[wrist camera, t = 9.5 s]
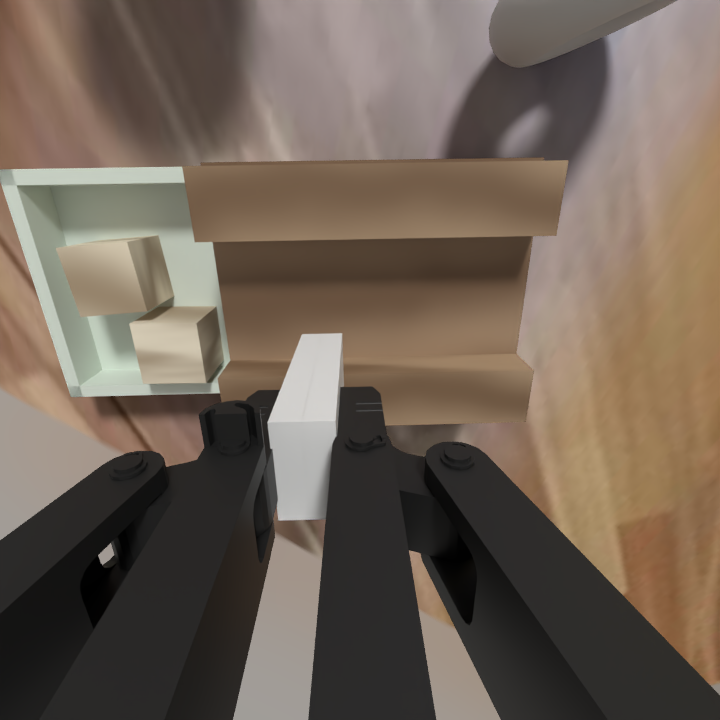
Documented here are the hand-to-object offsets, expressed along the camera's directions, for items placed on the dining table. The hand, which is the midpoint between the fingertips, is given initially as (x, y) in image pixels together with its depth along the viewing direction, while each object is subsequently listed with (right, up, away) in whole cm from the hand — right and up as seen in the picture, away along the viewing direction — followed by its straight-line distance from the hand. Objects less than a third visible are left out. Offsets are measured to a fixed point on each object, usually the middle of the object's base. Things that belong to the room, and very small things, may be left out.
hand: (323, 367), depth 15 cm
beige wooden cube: (-11, +3, +11) cm, 15 cm away
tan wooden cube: (-13, +5, +8) cm, 16 cm away
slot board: (+2, +6, +13) cm, 14 cm away
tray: (-13, +6, +12) cm, 19 cm away
